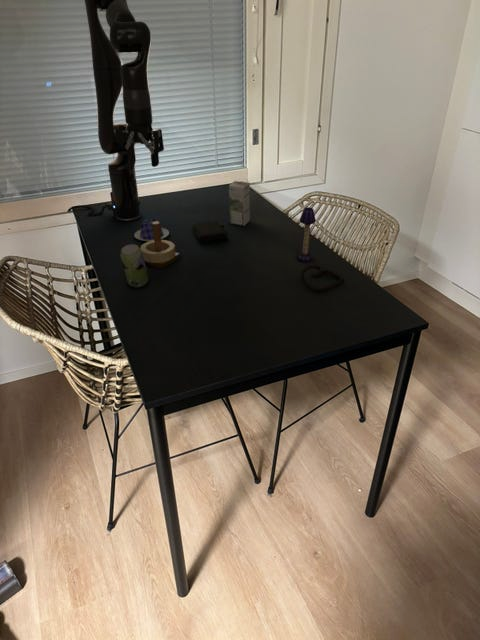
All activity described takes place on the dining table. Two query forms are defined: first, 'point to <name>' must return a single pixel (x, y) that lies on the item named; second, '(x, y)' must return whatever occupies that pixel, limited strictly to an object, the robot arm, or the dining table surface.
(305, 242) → the purple spotted mushroom
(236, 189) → the syrup box
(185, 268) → the dining table surface
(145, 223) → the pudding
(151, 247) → the tape roll
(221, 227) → the carrying case
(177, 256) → the peg stand
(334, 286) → the metal loop
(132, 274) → the beverage can
